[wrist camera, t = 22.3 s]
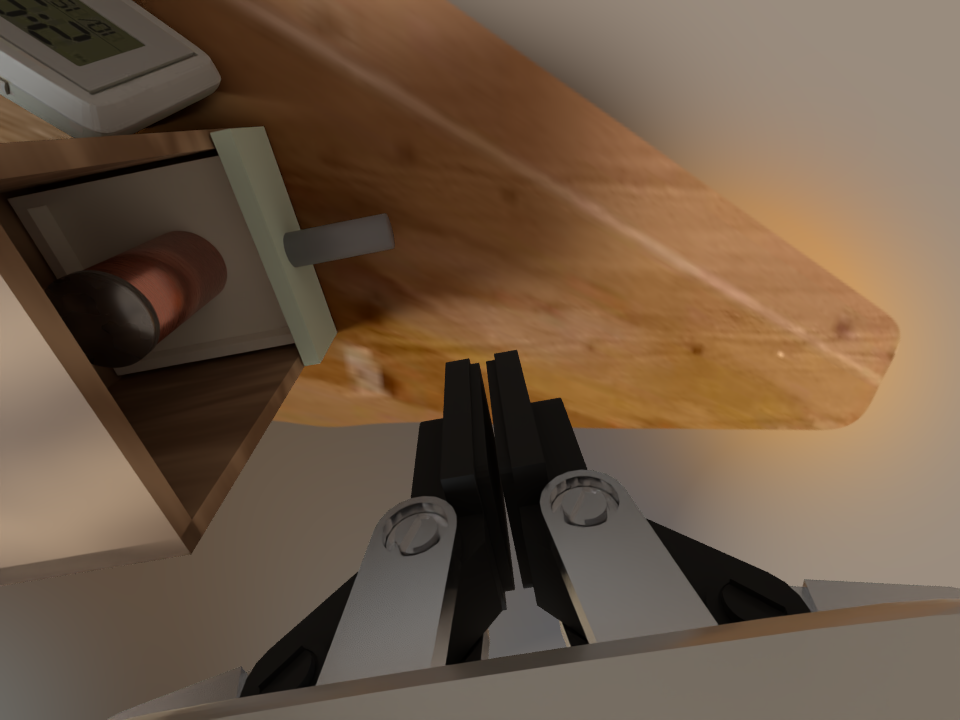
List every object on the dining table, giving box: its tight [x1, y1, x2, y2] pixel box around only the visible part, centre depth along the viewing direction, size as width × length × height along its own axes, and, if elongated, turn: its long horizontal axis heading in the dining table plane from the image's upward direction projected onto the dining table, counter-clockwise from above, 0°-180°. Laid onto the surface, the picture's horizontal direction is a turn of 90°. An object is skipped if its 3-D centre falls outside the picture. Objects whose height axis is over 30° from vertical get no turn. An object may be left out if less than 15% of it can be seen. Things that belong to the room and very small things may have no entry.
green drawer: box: [8, 126, 395, 376], centre depth 33 cm, size 16×23×5 cm
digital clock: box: [0, 0, 221, 138], centre depth 24 cm, size 16×9×11 cm, turn 43°
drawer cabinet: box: [0, 127, 304, 586], centre depth 26 cm, size 16×16×22 cm
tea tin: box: [44, 231, 227, 368], centre depth 30 cm, size 5×5×10 cm
